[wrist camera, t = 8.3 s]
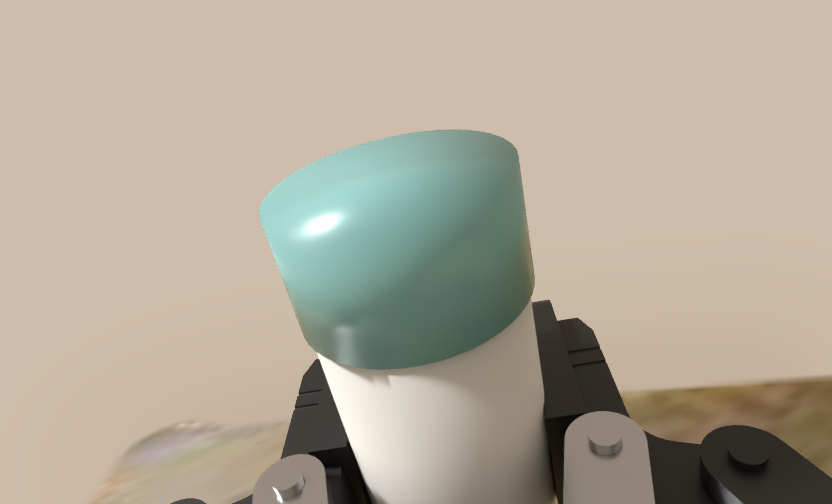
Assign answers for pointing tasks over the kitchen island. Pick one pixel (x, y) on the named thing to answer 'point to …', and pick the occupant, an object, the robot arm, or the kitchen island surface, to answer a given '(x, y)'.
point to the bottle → (421, 313)
